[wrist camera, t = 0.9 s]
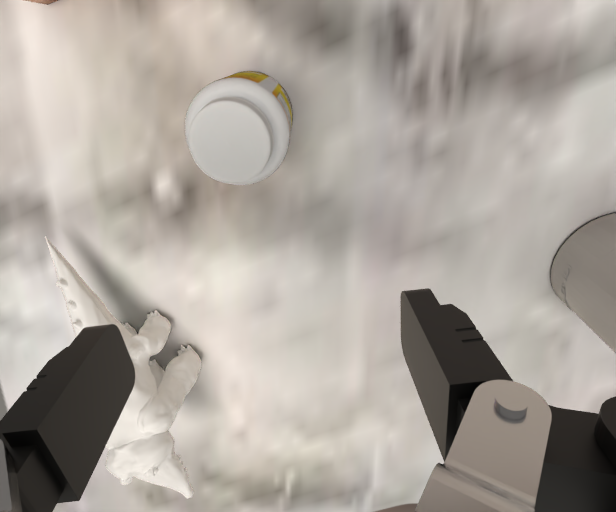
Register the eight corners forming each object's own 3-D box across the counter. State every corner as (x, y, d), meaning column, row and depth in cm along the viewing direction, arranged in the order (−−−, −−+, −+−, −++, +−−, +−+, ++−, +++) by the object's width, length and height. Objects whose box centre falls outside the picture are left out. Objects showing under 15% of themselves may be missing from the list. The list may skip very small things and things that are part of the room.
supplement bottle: (198, 118, 28) (147, 150, 19) (245, 51, 26) (213, 51, 17) (261, 169, 30) (241, 221, 21) (309, 109, 28) (311, 137, 19)
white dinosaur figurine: (185, 433, 42) (141, 544, 31) (45, 233, 34) (-76, 293, 24) (243, 415, 41) (216, 524, 30) (112, 202, 33) (15, 252, 22)
